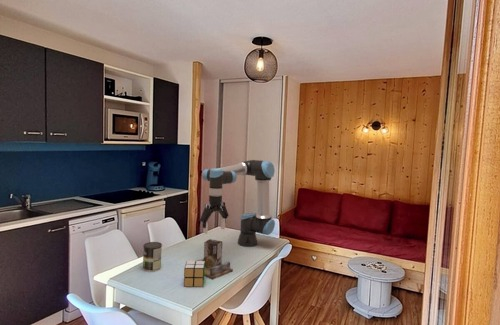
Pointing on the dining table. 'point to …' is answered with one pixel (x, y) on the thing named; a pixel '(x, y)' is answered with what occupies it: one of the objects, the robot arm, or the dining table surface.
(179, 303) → the dining table surface
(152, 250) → the coffee can
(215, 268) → the rail dock
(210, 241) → the coffee box
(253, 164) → the robot arm
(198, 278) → the puzzle cube
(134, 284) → the dining table surface
